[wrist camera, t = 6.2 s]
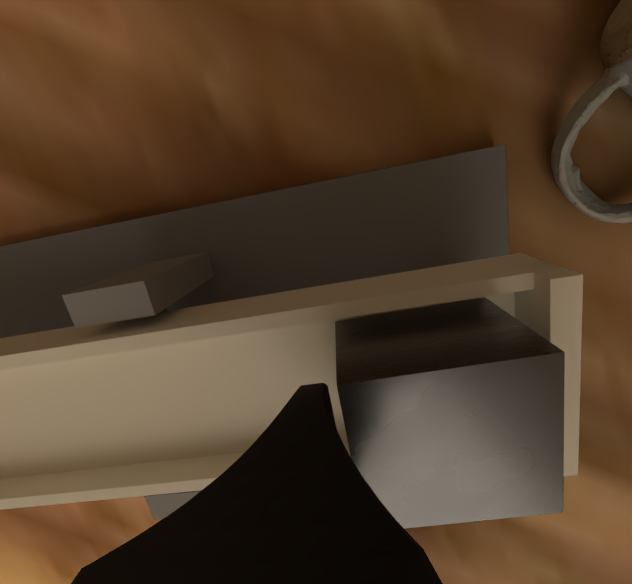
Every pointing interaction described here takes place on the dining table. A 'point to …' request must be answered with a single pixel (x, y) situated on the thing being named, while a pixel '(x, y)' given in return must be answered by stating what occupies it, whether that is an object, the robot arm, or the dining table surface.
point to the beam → (226, 378)
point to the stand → (259, 248)
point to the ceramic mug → (621, 71)
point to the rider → (453, 412)
